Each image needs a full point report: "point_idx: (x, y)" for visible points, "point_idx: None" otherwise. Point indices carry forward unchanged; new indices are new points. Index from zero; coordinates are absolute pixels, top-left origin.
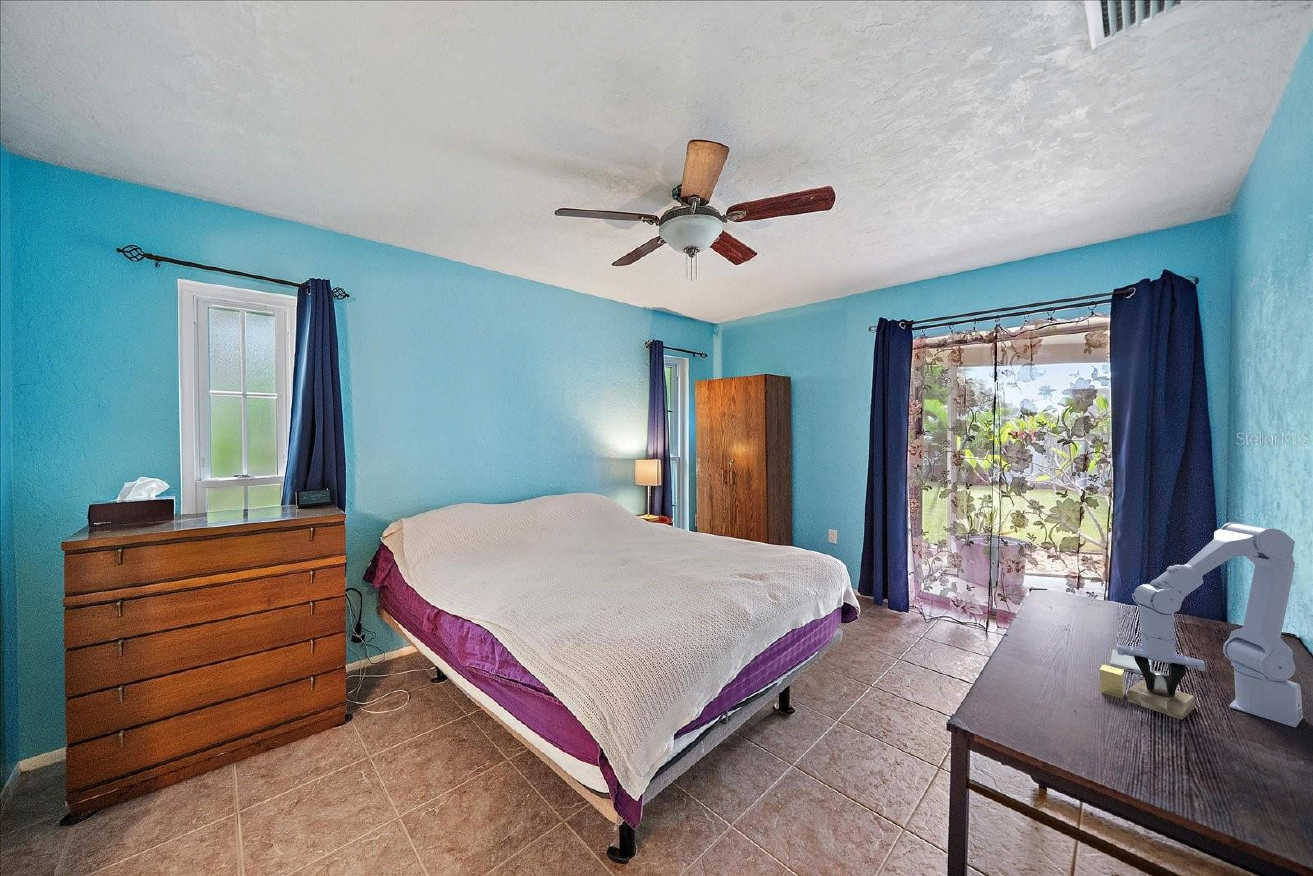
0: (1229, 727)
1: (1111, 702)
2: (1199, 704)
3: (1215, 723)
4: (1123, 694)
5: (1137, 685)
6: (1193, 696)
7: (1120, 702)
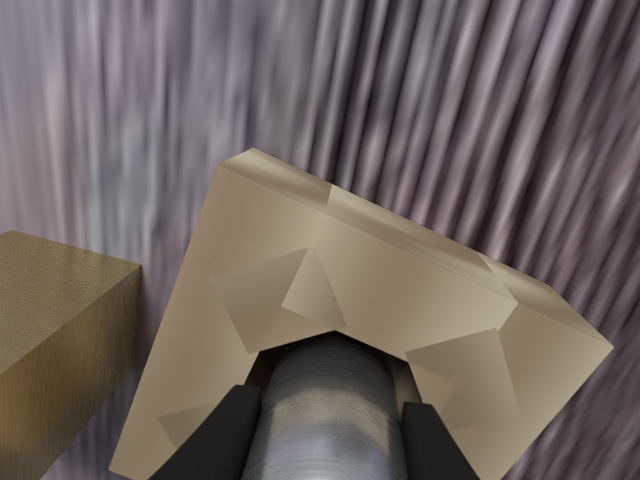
0: (635, 463)
1: (79, 447)
2: (632, 171)
3: (576, 448)
4: (122, 349)
5: (171, 356)
6: (602, 360)
7: (120, 424)
